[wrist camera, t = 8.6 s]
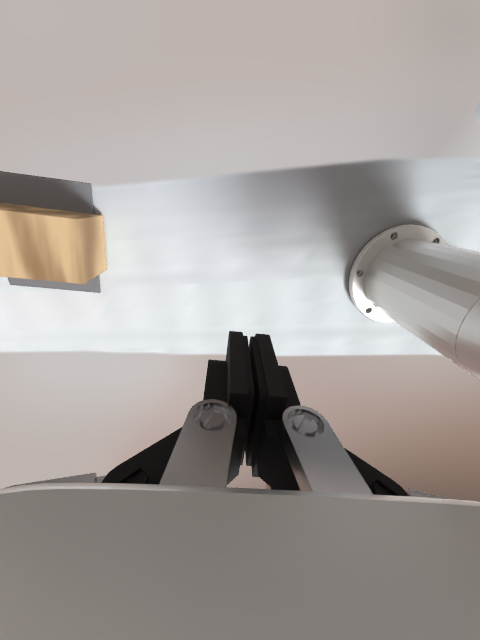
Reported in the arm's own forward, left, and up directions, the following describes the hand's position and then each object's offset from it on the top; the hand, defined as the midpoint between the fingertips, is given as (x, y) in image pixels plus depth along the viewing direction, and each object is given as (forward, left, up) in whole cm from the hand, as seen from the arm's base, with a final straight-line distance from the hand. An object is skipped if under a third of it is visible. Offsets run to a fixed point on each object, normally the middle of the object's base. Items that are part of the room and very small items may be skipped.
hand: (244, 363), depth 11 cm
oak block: (+14, 0, -20) cm, 24 cm away
